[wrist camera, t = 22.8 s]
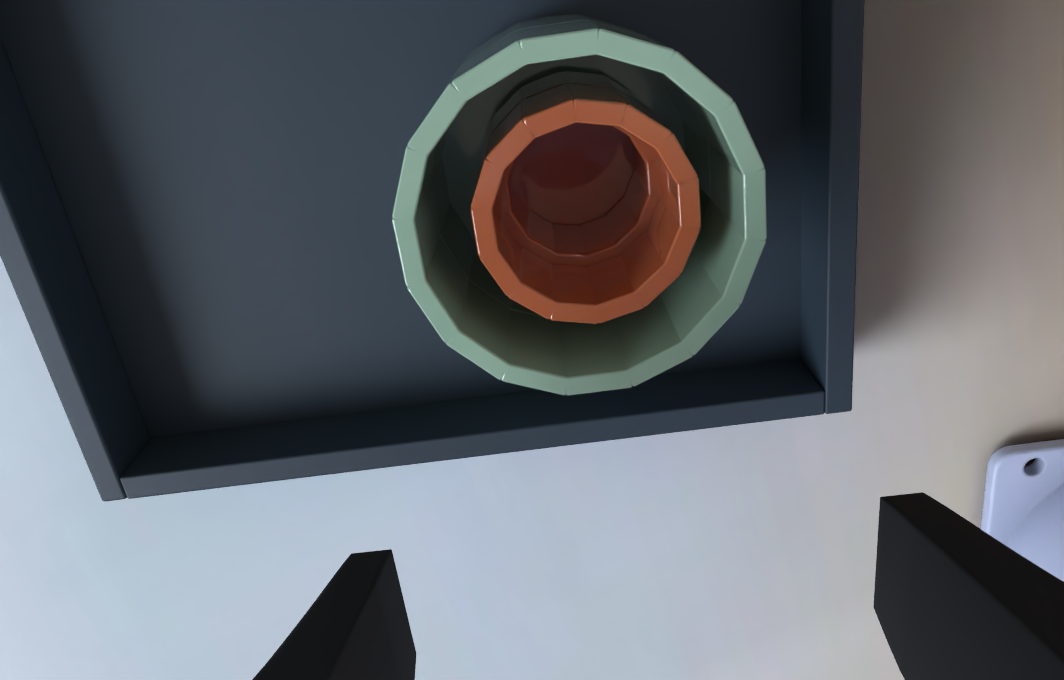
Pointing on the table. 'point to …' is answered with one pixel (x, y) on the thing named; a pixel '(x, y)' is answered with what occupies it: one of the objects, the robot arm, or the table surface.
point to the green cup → (448, 236)
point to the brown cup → (583, 200)
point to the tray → (364, 231)
